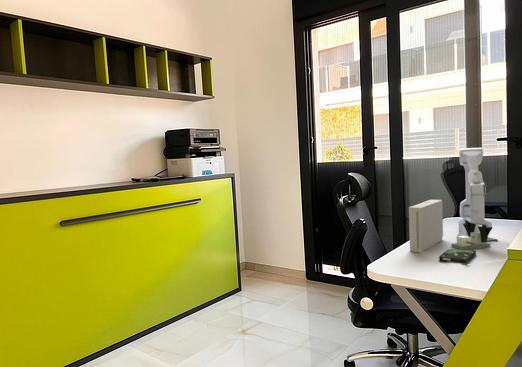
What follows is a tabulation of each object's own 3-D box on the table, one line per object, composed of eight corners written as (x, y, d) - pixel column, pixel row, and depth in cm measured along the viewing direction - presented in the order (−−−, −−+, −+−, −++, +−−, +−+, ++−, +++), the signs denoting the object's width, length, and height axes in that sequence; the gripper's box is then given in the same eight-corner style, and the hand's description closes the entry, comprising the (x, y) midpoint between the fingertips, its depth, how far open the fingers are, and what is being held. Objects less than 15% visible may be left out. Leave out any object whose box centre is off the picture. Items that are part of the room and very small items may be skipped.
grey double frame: (451, 247, 179) (451, 242, 179) (478, 244, 182) (478, 239, 182) (462, 251, 172) (462, 246, 172) (490, 248, 175) (490, 243, 175)
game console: (408, 251, 178) (407, 207, 176) (430, 239, 197) (430, 199, 196) (421, 253, 174) (420, 207, 172) (443, 240, 193) (442, 199, 192)
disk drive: (467, 266, 153) (476, 257, 165) (467, 259, 153) (476, 250, 164) (438, 263, 160) (449, 254, 171) (438, 256, 160) (449, 247, 171)
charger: (478, 244, 180) (478, 231, 180) (484, 246, 176) (484, 233, 176) (470, 245, 179) (470, 232, 179) (477, 247, 175) (476, 234, 175)
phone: (468, 241, 189) (468, 239, 188) (488, 239, 191) (488, 236, 191) (477, 244, 183) (477, 241, 183) (497, 241, 186) (497, 239, 185)
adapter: (456, 247, 178) (456, 236, 177) (464, 246, 179) (464, 235, 178) (468, 251, 171) (468, 239, 170) (476, 250, 171) (476, 238, 171)
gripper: (457, 208, 183) (458, 238, 184) (481, 213, 169) (482, 244, 170) (471, 207, 184) (471, 236, 185) (495, 211, 170) (496, 243, 171)
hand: (477, 240), depth 178 cm, fingers open, 7 cm apart
